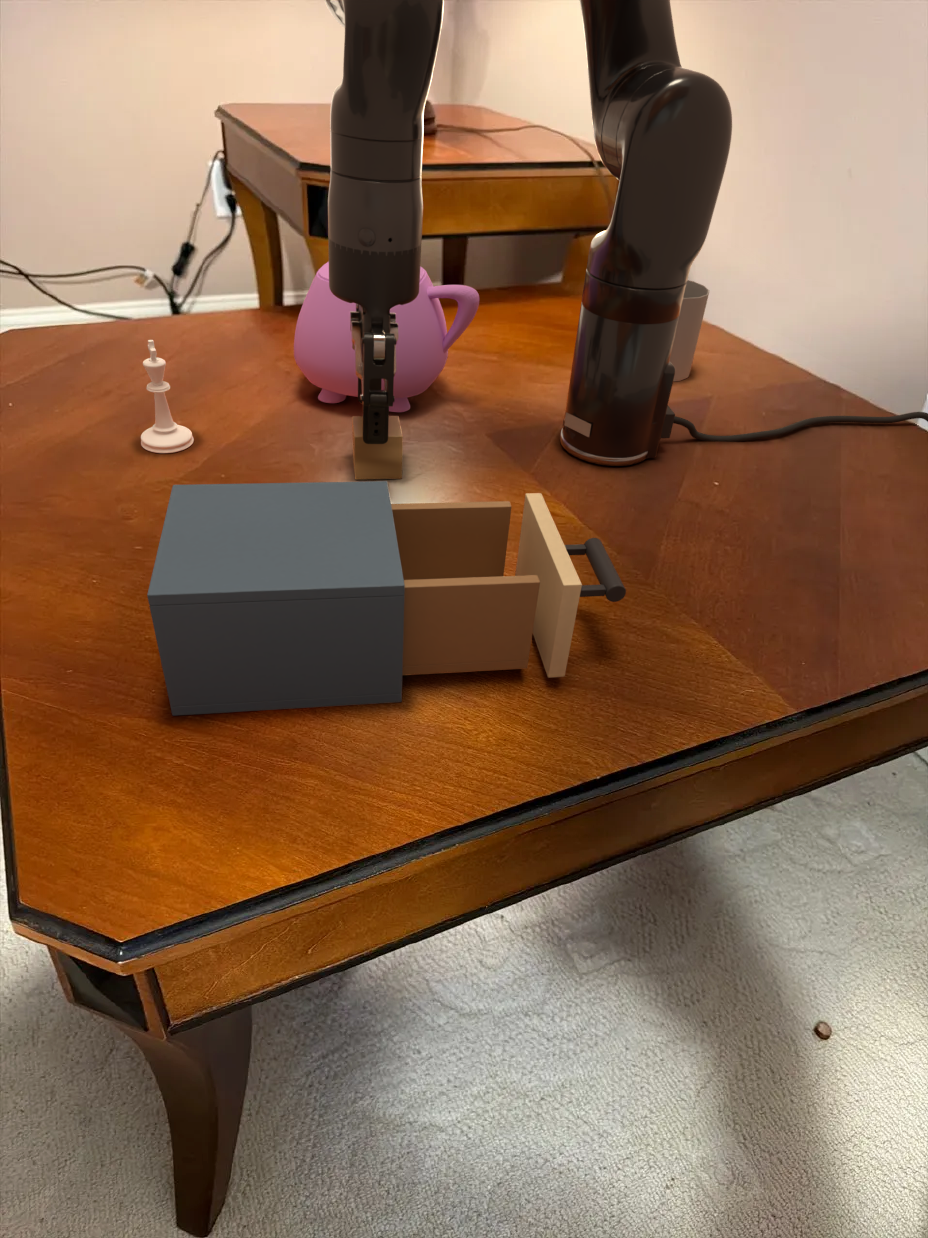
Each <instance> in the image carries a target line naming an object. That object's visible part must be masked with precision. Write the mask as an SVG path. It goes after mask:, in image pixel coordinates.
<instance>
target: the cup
mask: <svg viewBox="0 0 928 1238" xmlns="http://www.w3.org/2000/svg"><path fill="white" fill-rule="evenodd" d="M709 295H710V289H709V288H707V287H706V285H704V284H701V283H699V282H697V281H694V280H690V279H688V280H687V283H686V287H685V292H684V296H683V301H682V305H681V310H680V314H679V319H678V324H677V328H676V333H675V337H674V342H673V346H672V351H671V356H670V360H669V361H670V362H671V363H672V364H673V366H674V367H675V376H674V380H673V382H681V381H683V380H686V379H688V378H689V376H690V374H691V370H692V367H693V363H694V357H695V354H696V349H697V346H698V341H699V338H700V337H699V336H700V332H701V329H702V325H703V321H704V316H705V311H706V307H707V303H708V300H709V299H708V298H709Z"/></svg>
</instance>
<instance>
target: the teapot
mask: <svg viewBox="0 0 928 1238" xmlns="http://www.w3.org/2000/svg"><path fill="white" fill-rule="evenodd" d="M479 294H480V293H478V291H477V290H476V289H475V288H474V287H472V286H469V285H465V284H443V285H441V284H440V285H434V284H433V281H432V280H431V278H430V276H429V274H428V272H427V270H426V269H425V268H424V267H422V266H421V265H420V284H419V294H418V296H417V297H416V298H415V299H414V300H413V301H412V302H410V303H407V304H404V305H400V304H399V305H396V306H394V307H392V308H391V309H390V313H395V314H396V323H398V335H399V337H398V341H397V344H396V373H395V376H394V387H393V396H394V397H395V401H394V402H393V407H392V406H389V412H390V413H404V412H407V411H409V410H410V409H411V404H410V402H409V399H408V398H411V397H415V396H418V395H421V394H422V393H424V392H425V391H427V390H428V389H429V388H430V387H431V386H432V385H433V383H434V382H435V381H436V380H437V378H438V377H439V375H440V374H441V373H442V371H443V369H444V368H445V367H446V363H447V361H448V357H449V349H450V348H451V347H452V346H453V344H455V343H456V342H457V341H458V340H459V338H460V337H461V336H462V335H463V334H464V332H465V331H466V330H467V329H468V327H469V326H470V324H471V323H472V321H473V320H474V319H475V316H476V314H477V312H478V309H479V306H480V295H479ZM440 299H451V300H454V301H456V303H457V311H456V314H455V317H454V320H453V321H452V324H451V326H450V328H449V329H448V328H447V323H446V322H447V321H446V318H445V313H444V310H443V307H442V304H441V301H440ZM350 311H354V312H356V303H348V302H345V301H343V300H341V299H339V298H337V297H336V296H335V295H333V293H332V292H331V290H330V288H329V261H327V262H326V263H324V264H323V265H322V266H321V267H320V268H318V270H317V271H316V274H315V276H314V277H313V279H312V282H311V284H310V286H309V288H308V291H307V293H306V295H305V298H304V300H303V302H302V305H301V308H300V311H299V314H298V317H297V320H296V325H295V332H294V338H293V339H294V340H293V358H294V361H295V363H296V365H297V367H298V369H299V370H300V371H301V373H302V374H303V376H304V377H305V378H306V379H307V380H308V382H309V383H311V384H312V385H313V386H315V387H317V388H320V389H321V391H320V393H319V394H318V396H317V399H318V401H320V402H322V403H325V404H326V403H327V404H337V403H341V402H342V403H343V402H344V401H345V400H346V399H347V396H348V397H349V396H350V397H357V398H358V377H357V376H356V374H355V350H354V349H353V348H352V338H351V331H350ZM381 390H385V389H384V380H383V379H382V385H381Z"/></svg>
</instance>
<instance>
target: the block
mask: <svg viewBox="0 0 928 1238" xmlns="http://www.w3.org/2000/svg"><path fill="white" fill-rule="evenodd" d="M351 430H352V431H351V433H352V434H351V435H352V439H351V440H352V464H353V473H354V479H355V480H402V479H403V453H404V452H403V449H404V448H403V445H404V436H403V435H404V434H403V431H402V427H401V422H400V417H399V415H389V424H388V441H387V442H386V443H385V444H366V443H365V442H364V441H363V415H352V416H351Z"/></svg>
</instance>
